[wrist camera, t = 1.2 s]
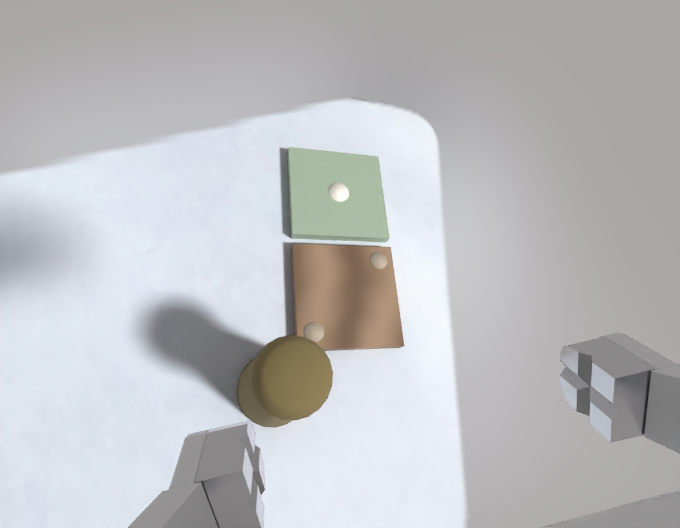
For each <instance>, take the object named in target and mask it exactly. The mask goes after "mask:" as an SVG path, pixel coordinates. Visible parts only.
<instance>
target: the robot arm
mask: <svg viewBox="0 0 680 528" xmlns="http://www.w3.org/2000/svg"><path fill="white" fill-rule="evenodd" d="M560 361H561V362H562V363H563V364H564V365H565V366H566V367H565V368H564V370H563V371H562V373H561V375H560V387H561V389H562V392H563V395H564V397H565V399H566V400H567V401H568V403H569V404H570V405H571V406H572V407H573V408H574V409H575V410H576V411H577V412H580V413H583V414H586V415H588V416H589V423H590V424H591V425H592V426H593V427H594V428H595V429H596V430H597V431H598V432H599V433H600V434H601V435H602V436H604V437H605V438H606V439H607V440H608V441H609V442H610V443H611V442H615V441H620V440H624V439H628V438H633V437H637V436H642V435H644V437H646V438H648V439H650V440H652V441H654V442H656V443H659V444H661V445H663V446H665V447H667V448H669V449H671V450H674V451H676V452H678V453H680V364H676V363H674V362H672V361H671V360H669V359H667V358H665V357H664V356H662V355H660V354H659V353H657V352H655V351H653V350H652V349H650V348H648V347H647V346H645V345H643V344H641V343H640V342H638V341H636V340H634V339H633V338H631V337H629V336H628V335H626V334H623V333H618V332H617V333H613V334H609V335H606V336H602V337H599V338H597V339H593V340H589V341H585V342H580V343H577V344H572V345H568V346H564V347H563V348H562V350H561V355H560ZM264 490H265V471H264V463H263V458H262V454H261V451H260V448H259V447H257V446H256V445H255V431H254V428H253V425H252V423H251V422H250V421H247V422H242V423H237V424H233V425H228V426H223V427H219V428H214V429H210V430H205V431H201V432H197V433H192V434H189V435H188V436H187V437H186V438H185V440H184V443H183V446H182V449H181V453H180V456H179V459H178V462H177V465H176V469H175V472H174V475H173V478H172V481H171V485H170V488H169V490H167V491H163V492H161V494H160V495H159V496H158V497H157V498H156V499H155V500H154V501H153V502H152V503H151V504H150V505H149V506H148V507H147V508H146V509H145V510H144V511H143V512H142V513H141V514H140V515H139V516H138V517H137V518H136V520H135V521H134V522H133V523H132V524H131V525H130V526H129V527H128V528H263V523H264V504H263V501H262V497H261V495H262V493H263V492H264ZM542 528H680V490H676V491H673V492H669V493H666V494H662V495H658V496H654V497H651V498H647V499H644V500H640V501H636V502H632V503H629V504H625V505H622V506H618V507H614V508H611V509H607V510H603V511H599V512H596V513H592V514H589V515H585V516H581V517H578V518H574V519H570V520H567V521H563V522H560V523H556V524H552V525H549V526H545V527H542Z"/></svg>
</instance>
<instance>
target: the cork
mask: <svg viewBox="0 0 680 528" xmlns="http://www.w3.org/2000/svg"><path fill="white" fill-rule="evenodd" d="M332 376H333V371H332V367H331V363H330V360H329V358H328V356H327V355H326V353H325V351H324V350H323V349H322V348H321V347H320V346H319V345H318V344H317V343H316V342H314V341H312V340H310V339H308V338H305V337H303V336H293V335H289V336H284V337H279V338H277V339H275V340H273V341H272V342H270V343H268V344H267V345H266V346H265V347H264V348H263V349H262V350H261V351H260V352H259V353H258V355H257V357H256V358H255V359H254V360H252V361H251V362H250V363H249V364H248V365H247V366H246V367H245V368H244V370H243V372H242V374H241V376H240V378H239V380H238V387H237V396H238V401H239V405H240V407H241V409H242V410H243V412H244V414H245V415H246V416H247V417H248V418H249V419H250V420H251V421H252V422H254V423H256V424H259V425H261V426H264V427H278V426H282V425H285V424H288V423H289V422H291V421H292V420H298V419H302V418H305V417H308V416H310V415H311V414H313V413H314V412H316V411H317V410H319V409H320V407H321V406H322V405H323V403H324V402H325V401H326V399H327V398H328V395H329V392H330V390H331V387H332Z"/></svg>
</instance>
